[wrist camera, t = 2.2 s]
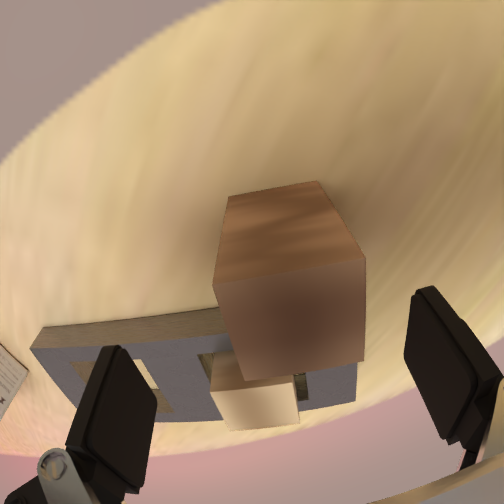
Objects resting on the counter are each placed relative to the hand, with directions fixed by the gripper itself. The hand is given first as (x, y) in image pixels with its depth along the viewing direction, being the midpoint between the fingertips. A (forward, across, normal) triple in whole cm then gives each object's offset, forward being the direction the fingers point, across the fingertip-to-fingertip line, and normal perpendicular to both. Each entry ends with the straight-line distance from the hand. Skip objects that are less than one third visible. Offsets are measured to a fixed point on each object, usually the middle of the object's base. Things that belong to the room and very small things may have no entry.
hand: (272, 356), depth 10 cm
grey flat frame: (+9, +7, +9) cm, 14 cm away
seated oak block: (+9, +2, +9) cm, 13 cm away
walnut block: (+9, -1, 0) cm, 9 cm away
